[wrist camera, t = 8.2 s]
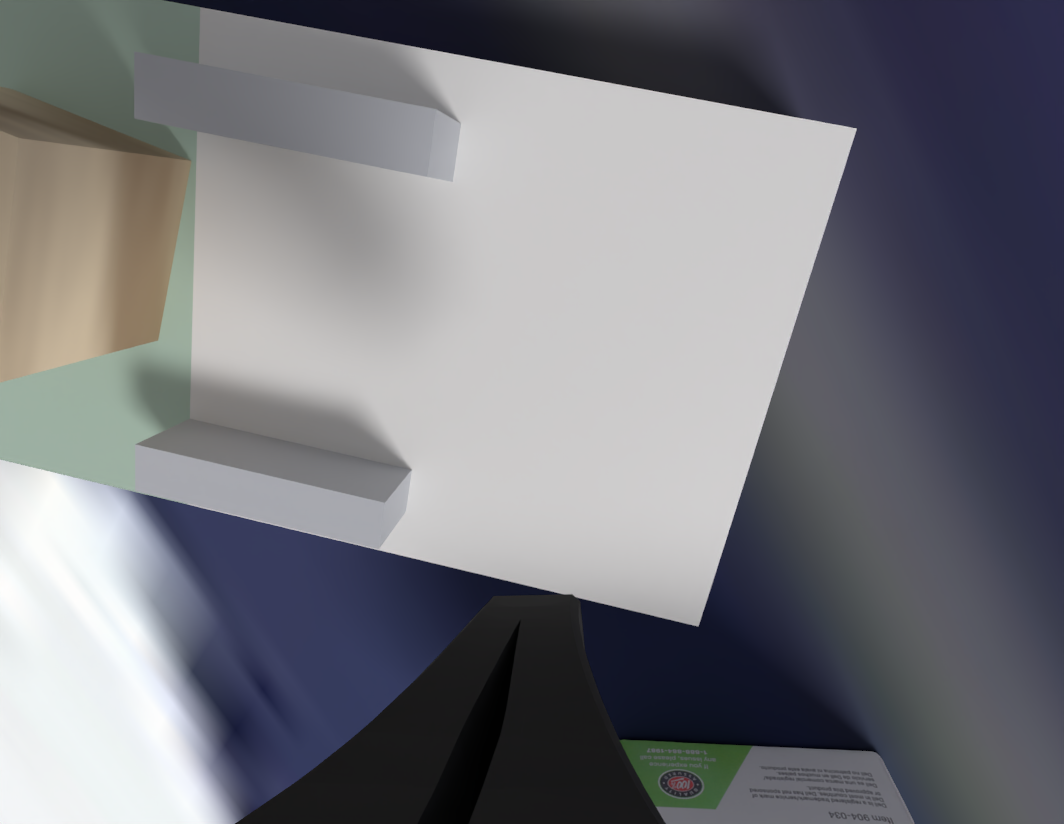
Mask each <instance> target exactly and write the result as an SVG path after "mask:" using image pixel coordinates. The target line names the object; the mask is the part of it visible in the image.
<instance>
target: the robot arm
mask: <svg viewBox="0 0 1064 824" xmlns="http://www.w3.org/2000/svg"><path fill="white" fill-rule="evenodd" d="M236 824H666V823H665V822H664V820H663V818H662V817H661V815H660V813H659V811H658V810H657V808H656V806H655V805H654V803H653V801H652V800H651V798H650V796H649V794H648V793H647V791H646V789H645V788H644V786H643V784H642V782H641V780H640V778H639V777H638V775H637V773H636V771H635V769H634V767H633V766H632V764H631V762H630V760H629V758H628V756H627V754H626V752H625V750H624V748H623V746H622V744H621V742H620V740H619V738H618V736H617V733H616V731H615V729H614V727H613V725H612V722H611V720H610V718H609V715H608V713H607V711H606V709H605V706H604V704H603V701H602V699H601V696H600V694H599V691H598V689H597V686H596V683H595V680H594V677H593V674H592V671H591V668H590V665H589V662H588V659H587V656H586V652H585V646H584V635H583V625H582V615H581V605H580V601H579V600H578V599H577V598H576V597H575V596H574V595H573V594H563V595H519V596H493V598H492V599H491V600H490V601H489V602H488V603H487V604H486V605H485V606H484V607H483V608H482V609H481V610H480V611H479V612H478V613H477V615H476V616H475V617H474V618H473V619H472V620H471V621H470V622H469V623H468V624H467V626H466V627H465V628H464V629H463V630H462V631H461V632H460V633H459V634H458V635H457V637H456V638H455V639H454V640H453V641H452V642H451V643H450V644H449V645H448V646H447V648H446V649H445V650H444V651H443V652H442V653H441V654H440V655H439V656H438V657H437V658H436V659H435V660H434V661H433V662H432V663H431V664H430V665H429V666H428V667H427V668H426V670H425V671H424V672H423V673H422V674H421V675H420V676H419V677H418V678H417V679H416V680H415V681H414V682H413V683H412V684H411V685H410V686H409V687H408V688H407V689H405V690H404V691H403V692H402V693H401V694H400V695H399V696H398V697H397V698H396V699H395V700H394V701H393V702H392V703H391V704H390V705H389V706H387V707H386V708H385V709H384V710H383V711H382V712H381V713H380V714H379V715H378V716H377V717H376V718H375V719H374V720H373V721H371V722H370V723H369V724H368V725H367V726H366V727H365V728H363V729H362V730H361V731H360V732H359V733H358V734H356V735H355V736H354V737H353V738H352V739H350V740H349V741H348V742H347V743H346V744H344V745H343V746H342V747H341V748H339V749H338V750H337V751H336V752H334V753H333V754H332V755H331V756H329V757H328V758H327V759H325V760H324V761H323V762H322V763H320V764H319V765H318V766H317V767H315V768H314V769H313V770H311V771H310V772H309V773H308V774H306V775H305V776H303V777H302V778H301V779H299V780H298V781H297V782H295V783H294V784H292V785H291V786H290V787H288V788H287V789H285V790H284V791H282V792H281V793H279V794H278V795H276V796H275V797H274V798H272V799H271V800H269V801H268V802H266V803H265V804H263V805H262V806H260V807H259V808H258V809H256V810H255V811H253V812H252V813H250V814H249V815H247V816H246V817H244V818H243V819H241V820H240V821H239V822H237V823H236Z"/></svg>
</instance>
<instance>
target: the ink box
mask: <svg viewBox="0 0 1064 824" xmlns="http://www.w3.org/2000/svg"><path fill="white" fill-rule="evenodd" d="M620 742H621V744H622V746H623V748H624V750H625V752H626V754H627V756H628V758H629V760H630V762H631V764H632V766H633V767H634V769H635V771H636V773H637V775H638V777H639V778H640V780H641V782H642V784H643V786H644V788H645V789H646V791H647V793H648V794H649V796H650V798H651V800H652V801H653V803H654V805H655V806H656V808H657V810H658V811H659V813H660V815H661V817H662V818H663V820H664V822H665V823H666V824H915V823H914V821H913V819H912V817H911V815H910V813H909V811H908V809H907V807H906V805H905V803H904V801H903V799H902V797H901V795H900V794H899V792H898V790H897V788H896V786H895V784H894V782H893V780H892V778H891V776H890V774H889V772H888V770H887V768H886V766H885V764H884V762H883V760H882V759H881V757H880V756H879V755H878V754H877V753H875V752H872V751H855V750H834V749H808V748H787V747H764V746H746V745H722V744H704V743H683V742H664V741H646V740H625V739H623V740H620Z"/></svg>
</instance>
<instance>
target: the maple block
mask: <svg viewBox="0 0 1064 824" xmlns="http://www.w3.org/2000/svg"><path fill="white" fill-rule="evenodd" d="M190 167H191V160H188V159H186V158H183V157H181V156H178V155H176V154H173V153H171V152H168V151H166V150H163V149H161V148H158V147H156V146H153V145H151V144H148V143H146V142H143V141H141V140H138V139H136V138H133V137H131V136H128V135H126V134H123V133H121V132H118V131H116V130H113V129H111V128H108V127H106V126H103V125H101V124H98V123H96V122H93V121H91V120H88V119H86V118H83V117H81V116H78V115H76V114H73V113H71V112H68V111H66V110H63V109H61V108H58V107H56V106H53V105H51V104H48V103H46V102H43V101H41V100H38V99H36V98H33V97H31V96H28V95H26V94H23V93H21V92H18V91H16V90H13V89H9V88H5V87H0V383H1V382H4V381H8V380H12V379H16V378H19V377H23V376H27V375H31V374H34V373H38V372H42V371H46V370H49V369H53V368H57V367H61V366H64V365H68V364H72V363H76V362H79V361H83V360H87V359H90V358H94V357H98V356H102V355H105V354H109V353H113V352H117V351H120V350H124V349H128V348H132V347H135V346H139V345H143V344H147V343H150V342H154V341H158V339H159V334H160V328H161V323H162V317H163V312H164V307H165V301H166V296H167V290H168V285H169V280H170V274H171V269H172V264H173V258H174V253H175V247H176V242H177V237H178V231H179V226H180V220H181V215H182V210H183V204H184V199H185V193H186V188H187V183H188V177H189V172H190Z"/></svg>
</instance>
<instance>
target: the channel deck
mask: <svg viewBox="0 0 1064 824" xmlns="http://www.w3.org/2000/svg"><path fill="white" fill-rule="evenodd" d="M0 87H5V88H9V89H13V90H16V91H18V92H21V93H23V94H26V95H28V96H31V97H33V98H36V99H38V100H41V101H43V102H46V103H48V104H51V105H53V106H56V107H58V108H61V109H63V110H66V111H68V112H71V113H73V114H76V115H78V116H81V117H83V118H86V119H88V120H91V121H93V122H96V123H98V124H101V125H103V126H106V127H108V128H111V129H113V130H116V131H118V132H121V133H123V134H126V135H128V136H131V137H133V138H136V139H138V140H141V141H143V142H146V143H148V144H151V145H153V146H156V147H158V148H161V149H163V150H166V151H168V152H171V153H173V154H176V155H178V156H181V157H183V158H186V159H188V160H191V167H190V172H189V177H188V183H187V188H186V193H185V199H184V204H183V210H182V215H181V220H180V226H179V231H178V237H177V242H176V247H175V253H174V258H173V264H172V269H171V274H170V280H169V285H168V290H167V296H166V301H165V307H164V312H163V317H162V323H161V328H160V334H159V339H158V341H154V342H150V343H147V344H143V345H139V346H135V347H132V348H128V349H124V350H120V351H117V352H113V353H109V354H105V355H102V356H98V357H94V358H90V359H87V360H83V361H79V362H76V363H72V364H68V365H64V366H61V367H57V368H53V369H49V370H46V371H42V372H38V373H34V374H31V375H27V376H23V377H19V378H16V379H12V380H8V381H4V382H1V383H0V460H5V461H9V462H13V463H17V464H21V465H25V466H30V467H34V468H38V469H42V470H46V471H51V472H55V473H59V474H63V475H67V476H71V477H76V478H80V479H84V480H88V481H92V482H96V483H101V484H105V485H109V486H113V487H117V488H122V489H126V490H130V491H134V492H138V493H142V494H147V495H151V496H155V497H159V498H163V499H168V500H172V501H176V502H180V503H184V504H188V505H193V506H197V507H201V508H205V509H209V510H213V511H218V512H222V513H226V514H230V515H234V516H239V517H243V518H247V519H251V520H255V521H259V522H264V523H268V524H272V525H276V526H280V527H284V528H289V529H293V530H297V531H301V532H305V533H310V534H314V535H318V536H322V537H326V538H330V539H335V540H339V541H343V542H347V543H351V544H356V545H360V546H364V547H368V548H372V549H376V550H381V551H385V552H389V553H393V554H397V555H401V556H406V557H410V558H414V559H418V560H422V561H427V562H431V563H435V564H439V565H443V566H447V567H452V568H456V569H460V570H464V571H468V572H472V573H477V574H481V575H485V576H489V577H493V578H498V579H502V580H506V581H510V582H514V583H518V584H523V585H527V586H531V587H535V588H539V589H543V590H548V591H552V592H556V593H560V594H573V595H574V596H575V597H577V598H581V599H585V600H589V601H594V602H598V603H602V604H606V605H610V606H615V607H619V608H623V609H627V610H631V611H635V612H640V613H644V614H648V615H652V616H656V617H660V618H665V619H669V620H673V621H677V622H681V623H686V624H690V625H694V626H698V627H699V623H700V620H701V617H702V614H703V611H704V608H705V605H706V601H707V598H708V595H709V592H710V589H711V586H712V583H713V579H714V576H715V573H716V570H717V567H718V564H719V561H720V557H721V554H722V551H723V548H724V545H725V542H726V538H727V535H728V532H729V529H730V526H731V523H732V520H733V516H734V513H735V510H736V507H737V504H738V501H739V498H740V494H741V491H742V488H743V485H744V482H745V479H746V476H747V472H748V469H749V466H750V463H751V460H752V457H753V454H754V450H755V447H756V444H757V441H758V438H759V435H760V431H761V428H762V425H763V422H764V419H765V416H766V413H767V409H768V406H769V403H770V400H771V397H772V394H773V391H774V387H775V384H776V381H777V378H778V375H779V372H780V369H781V365H782V362H783V359H784V356H785V353H786V350H787V346H788V343H789V340H790V337H791V334H792V331H793V328H794V324H795V321H796V318H797V315H798V312H799V309H800V306H801V302H802V299H803V296H804V293H805V290H806V287H807V284H808V280H809V277H810V274H811V271H812V268H813V265H814V262H815V258H816V255H817V252H818V249H819V246H820V243H821V239H822V236H823V233H824V230H825V227H826V224H827V221H828V217H829V214H830V211H831V208H832V205H833V202H834V199H835V195H836V192H837V189H838V186H839V183H840V180H841V177H842V173H843V170H844V167H845V164H846V161H847V158H848V154H849V151H850V148H851V145H852V142H853V139H854V136H855V132H856V128H850V127H845V126H840V125H834V124H829V123H823V122H818V121H813V120H807V119H802V118H796V117H791V116H786V115H780V114H775V113H769V112H764V111H759V110H753V109H748V108H742V107H737V106H732V105H726V104H721V103H715V102H710V101H705V100H699V99H694V98H688V97H683V96H677V95H672V94H667V93H661V92H656V91H650V90H645V89H640V88H634V87H629V86H623V85H618V84H613V83H607V82H602V81H596V80H591V79H586V78H580V77H575V76H569V75H564V74H559V73H553V72H548V71H542V70H537V69H532V68H526V67H521V66H515V65H510V64H504V63H499V62H494V61H488V60H483V59H477V58H472V57H467V56H461V55H456V54H450V53H445V52H440V51H434V50H429V49H423V48H418V47H413V46H407V45H402V44H396V43H391V42H386V41H380V40H375V39H369V38H364V37H359V36H353V35H348V34H342V33H337V32H331V31H326V30H321V29H315V28H310V27H304V26H299V25H294V24H288V23H283V22H277V21H272V20H267V19H261V18H256V17H250V16H245V15H240V14H234V13H229V12H223V11H218V10H213V9H207V8H202V7H196V6H191V5H186V4H180V3H175V2H169V1H164V0H0Z"/></svg>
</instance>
